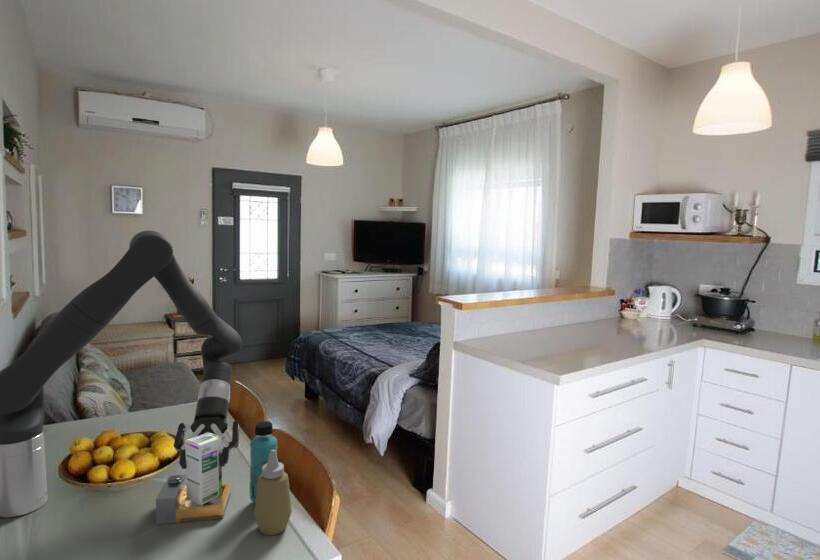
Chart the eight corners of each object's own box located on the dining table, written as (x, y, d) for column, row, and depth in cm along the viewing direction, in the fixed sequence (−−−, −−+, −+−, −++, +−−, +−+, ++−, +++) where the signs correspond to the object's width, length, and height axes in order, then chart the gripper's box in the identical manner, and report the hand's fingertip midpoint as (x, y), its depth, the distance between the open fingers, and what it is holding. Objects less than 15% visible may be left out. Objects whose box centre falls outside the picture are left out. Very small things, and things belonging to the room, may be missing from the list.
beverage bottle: (243, 506, 112) (242, 426, 110) (262, 492, 118) (261, 416, 116) (266, 513, 109) (265, 431, 107) (283, 498, 116) (283, 421, 113)
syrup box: (200, 506, 107) (200, 445, 106) (185, 498, 110) (185, 438, 109) (222, 495, 112) (222, 436, 111) (207, 487, 115) (207, 430, 114)
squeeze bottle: (281, 542, 100) (281, 462, 98) (247, 536, 101) (246, 457, 99) (298, 519, 108) (298, 444, 106) (265, 514, 109) (265, 440, 107)
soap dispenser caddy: (156, 524, 104) (155, 495, 104) (170, 498, 114) (169, 472, 113) (223, 518, 107) (222, 490, 106) (230, 494, 117) (230, 468, 116)
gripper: (180, 396, 115) (166, 463, 105) (240, 394, 118) (233, 459, 108) (186, 408, 121) (174, 473, 111) (244, 406, 124) (237, 469, 114)
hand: (203, 466), depth 110 cm, fingers open, 8 cm apart
